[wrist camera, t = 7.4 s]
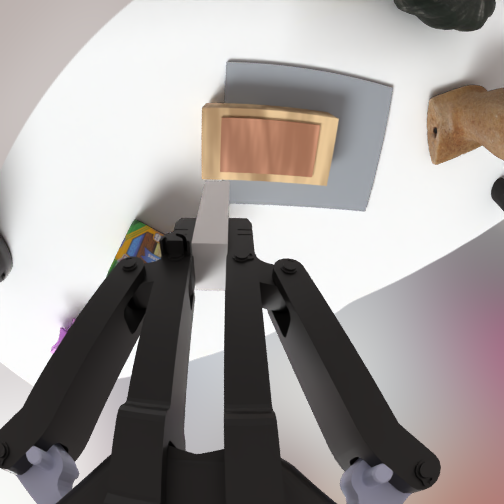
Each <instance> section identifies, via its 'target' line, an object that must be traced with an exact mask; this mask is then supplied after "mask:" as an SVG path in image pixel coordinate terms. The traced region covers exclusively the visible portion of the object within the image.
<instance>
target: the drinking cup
mask: <svg viewBox="0 0 504 504" xmlns="http://www.w3.org/2000/svg"><path fill="white" fill-rule="evenodd" d="M491 196H492V199H493V200H494V201H495V202H496V203H497V204H498V205H499V206H500V208H501V209H502V210H503V211H504V179H503V178H499V179H497V180H496V181H495V183H494V185H493V187H492V191H491Z"/></svg>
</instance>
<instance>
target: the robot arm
mask: <svg viewBox="0 0 504 504" xmlns="http://www.w3.org/2000/svg"><path fill="white" fill-rule="evenodd" d="M229 187H230V181H205V184H204V188H203V192H202V196H201V201H200V205H199V210H198V214H197V218H181V219H180V220H179V221H178V222H177V223H176V225H175V228H174V231H173V232H171V233H168V234H165V235H164V236H162V237H161V238H160V240H159V244H160V250H161V259H159V260H157V261H154V262H149V263H144V261H143V260H142V259H141V258H139V257H134V256H131V257H126V258H124V259H122V260H121V261H119V262H118V263H117V265H116V266H115V267H114V268H113V270H112V271H111V272H110V273H109V275H108V276H107V277H106V279H105V280H104V281H103V283H102V284H101V285H100V287H99V288H98V289H97V291H96V292H95V293H94V295H93V296H92V297H91V299H90V300H89V301H88V303H87V304H86V306H85V307H84V308H83V310H82V311H81V313H80V314H79V316H78V317H77V318H76V320H75V321H74V323H73V324H72V326H71V327H70V329H69V330H68V332H67V333H66V335H65V336H64V338H63V339H62V341H61V342H60V344H59V345H58V347H57V349H56V350H55V352H54V353H53V355H52V357H51V358H50V360H49V362H48V363H47V365H46V366H45V368H44V370H43V372H42V373H41V375H40V377H39V378H38V380H37V382H36V384H35V385H34V387H33V389H32V391H31V393H30V395H29V396H28V398H27V400H26V402H25V404H24V406H23V408H22V409H21V410H20V411H19V412H18V413H17V414H15V415H14V416H13V417H12V419H10V420H9V422H7V423H6V424H5V425H4V426H3V427H2V428H1V429H0V468H2V469H4V470H6V471H8V472H10V473H13V474H15V475H16V476H17V477H18V479H19V480H20V482H21V483H22V484H23V486H24V487H25V489H26V490H27V491H28V493H29V494H30V495H31V497H32V498H33V499H34V501H35V502H36V503H37V504H337V503H335V502H334V501H333V500H332V499H330V498H329V497H328V496H327V495H326V494H324V493H323V492H322V491H321V490H320V489H319V488H317V487H316V486H315V485H314V484H313V483H312V482H311V481H310V480H308V479H307V478H306V477H305V476H304V475H303V474H302V473H301V472H300V471H298V470H297V469H296V468H295V467H294V466H293V465H291V464H290V463H289V462H287V461H285V460H284V459H282V458H281V457H280V448H279V438H278V429H277V420H276V416H275V412H274V411H273V409H272V402H271V392H270V382H269V372H268V362H267V352H266V342H265V332H264V322H263V312H262V308H265V309H267V310H268V314H269V316H270V318H271V321H272V323H273V325H274V327H275V330H276V332H277V334H278V336H279V338H280V341H281V343H282V345H283V347H284V350H285V352H286V354H287V356H288V359H289V361H290V363H291V365H292V368H293V370H294V372H295V374H296V376H297V379H298V381H299V383H300V385H301V388H302V390H303V392H304V394H305V396H306V399H307V401H308V403H309V405H310V407H311V410H312V412H313V414H314V416H315V418H316V421H317V423H318V425H319V427H320V429H321V432H322V434H323V436H324V438H325V440H326V442H327V444H328V447H329V449H330V451H331V452H332V454H333V456H334V458H335V460H336V461H337V462H338V463H339V465H340V466H341V468H342V469H343V470H344V471H345V472H344V474H343V475H342V478H341V480H340V487H341V490H342V492H343V493H344V495H345V497H346V501H347V504H403V502H404V501H405V500H406V498H408V496H409V495H410V494H412V493H414V492H418V491H421V490H424V489H427V488H429V487H431V486H432V485H433V484H434V483H435V482H436V481H437V479H438V477H439V474H440V469H441V466H440V462H439V460H438V458H437V457H436V455H434V454H433V453H432V452H431V451H430V450H429V449H428V448H426V447H425V446H424V445H423V444H422V443H420V441H418V440H417V439H416V438H415V437H414V436H413V435H411V434H410V433H409V432H408V431H406V429H404V428H403V427H402V426H401V425H400V424H399V423H398V421H397V420H396V418H395V416H394V415H393V413H392V411H391V409H390V407H389V405H388V404H387V402H386V400H385V399H384V397H383V395H382V394H381V391H380V390H379V388H378V387H377V385H376V383H375V381H374V379H373V378H372V376H371V374H370V373H369V371H368V369H367V368H366V366H365V364H364V363H363V361H362V359H361V358H360V356H359V354H358V353H357V351H356V349H355V348H354V346H353V344H352V343H351V341H350V339H349V338H348V336H347V334H346V333H345V331H344V330H343V328H342V326H341V325H340V323H339V322H338V320H337V318H336V317H335V315H334V313H333V312H332V310H331V309H330V307H329V305H328V304H327V302H326V301H325V299H324V298H323V296H322V294H321V293H320V291H319V290H318V288H317V287H316V285H315V283H314V282H313V280H312V279H311V277H310V276H309V274H308V273H307V271H306V270H305V268H304V266H303V265H302V264H301V263H300V262H298V261H296V260H293V259H281V260H278V261H277V262H275V264H274V265H273V264H269V263H265V262H263V261H261V260H260V259H258V258H257V257H256V254H255V252H254V243H253V233H252V224H251V222H250V221H249V220H248V219H247V218H229ZM11 269H12V259H11V255H10V252H9V249H8V247H7V245H6V243H5V241H4V240H3V238H2V236H1V235H0V282H2V281H3V280H4V279H5V278H6V277H7V276H8V274H9V273H10V271H11ZM194 288H195V289H196V290H210V291H225V332H224V449H222V450H218V451H213V452H208V453H202V454H193V453H190V452H187V451H185V436H184V419H185V402H186V388H187V374H188V362H189V351H190V340H191V330H192V321H193V311H194V303H195V294H194ZM139 336H140V338H139V342H138V346H137V351H136V356H135V360H134V365H133V370H132V375H131V380H130V386H129V392H128V397H127V401H126V402H125V403H124V404H123V405H121V406H120V408H119V410H118V414H117V418H116V425H115V431H114V439H113V446H112V454H111V455H110V456H109V457H107V458H106V459H105V460H104V461H103V462H102V463H101V464H100V465H99V466H98V467H97V468H95V469H94V470H93V471H92V472H91V473H90V474H89V475H88V476H87V477H85V478H84V479H83V480H82V481H81V482H80V483H79V484H78V485H76V486H75V487H74V488H73V489H72V485H73V482H74V480H75V479H77V478H78V476H79V471H78V469H77V467H76V464H75V461H76V460H77V458H78V457H79V456H80V454H81V453H82V451H83V450H84V448H85V447H86V445H87V442H88V441H89V438H90V436H91V434H92V432H93V430H94V427H95V425H96V423H97V421H98V418H99V416H100V414H101V412H102V410H103V408H104V405H105V403H106V401H107V399H108V397H109V395H110V393H111V391H112V389H113V387H114V384H115V382H116V380H117V378H118V376H119V374H120V372H121V370H122V368H123V366H124V364H125V362H126V360H127V359H128V357H129V355H130V353H131V351H132V349H133V347H134V345H135V343H136V341H137V339H138V337H139Z"/></svg>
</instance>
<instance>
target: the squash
mask: <svg viewBox="0 0 504 504" xmlns="http://www.w3.org/2000/svg"><path fill="white" fill-rule="evenodd" d="M394 2H395V4H396V6H397V7H398V8H399V9H400V10H402V11H404V12H407V13H410V14H413V15H416V16H417V17H418V18H419V19H420V20H421V21H422V22H424V23H425V24H426V25H428V26H430V27H433V28H435V29H443V30H451V29H455V30H458V31H474V30H478V29H480V28H481V27H482V26H483V25H484V23H485V22H486V20H487V18H488V17H490V16H491V15H492V14H493V12H494V10H495V5H496V2H495V0H394Z"/></svg>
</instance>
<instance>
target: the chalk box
mask: <svg viewBox="0 0 504 504" xmlns="http://www.w3.org/2000/svg"><path fill="white" fill-rule="evenodd" d="M162 236H164V234H162V233H160V232H159V231H157V230H155V229H153V228H151V227H149V226H147V225H145V224H143V223H141V222H139V221H138V220H134V221H133V222H132V224H131V226H130V228H129V230H128V232H127V234H126V236H125V238H124V240H123V242H122V244H121V246H120V248H119V250H118V252H117V255H116V257H115V259H114V261H113V263H112V265H111V267H110V269H109V271H108V274H107V276H108V275H109V273H110V272H111V271H112V270H113V268H114V267H115V266H116V265H117V263H118V262H119V261H121V260H122V259H124V258H126V257H131V256H134V257H139V258H141V259H142V260H143V261H144V263H149V262H154V261H157V260H159V259H161V250H160V244H159V240H160V238H161V237H162Z"/></svg>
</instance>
